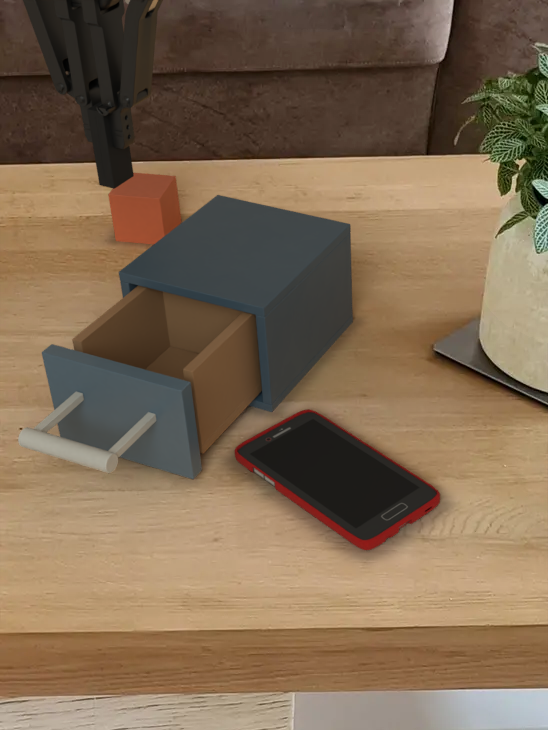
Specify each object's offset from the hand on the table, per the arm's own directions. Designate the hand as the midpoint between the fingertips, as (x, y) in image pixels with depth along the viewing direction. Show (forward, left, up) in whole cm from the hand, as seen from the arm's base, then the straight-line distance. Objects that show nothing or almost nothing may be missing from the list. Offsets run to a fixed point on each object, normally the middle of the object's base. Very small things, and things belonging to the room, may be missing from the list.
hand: (116, 180), depth 97 cm
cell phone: (+28, -16, -12) cm, 34 cm away
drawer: (+13, -17, -11) cm, 24 cm away
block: (-6, +11, -11) cm, 17 cm away
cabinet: (+13, -3, -11) cm, 18 cm away
